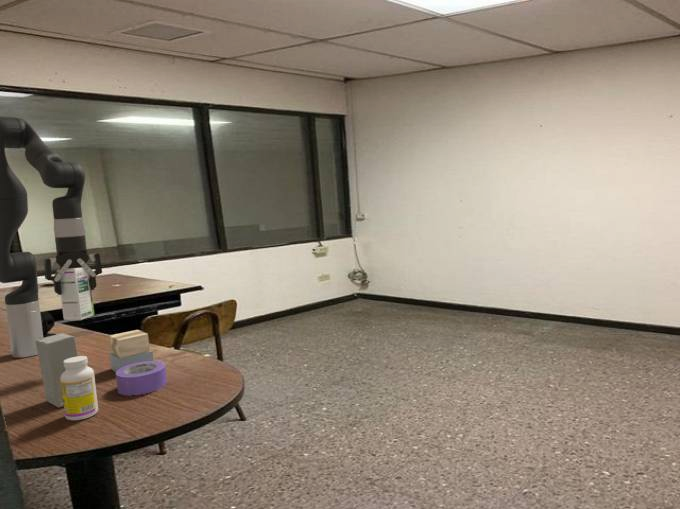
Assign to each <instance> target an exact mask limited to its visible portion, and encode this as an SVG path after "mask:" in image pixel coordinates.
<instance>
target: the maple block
mask: <svg viewBox="0 0 680 509" xmlns="http://www.w3.org/2000/svg"><path fill="white" fill-rule="evenodd" d="M109 343H110V351H111V353H113V354H114V355H116V356H118V357H119V358H124V357H128V356H132V355H136V354H141V353H145V352H149V351H150V350H151V349H150V341H149V334H148V333H147V332H144V331H142V330H139V329H135V330H130V331H125V332H120V333H115V334H110V335H109Z"/></svg>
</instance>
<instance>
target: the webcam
mask: <svg viewBox="0 0 680 509" xmlns="http://www.w3.org/2000/svg"><path fill="white" fill-rule="evenodd" d="M40 314H41V323H42V331H43V338H45V337H49V336H53V335H57V334H58V333H49V332H51V330H52V328H54V326H55V324H56V323H55V318H54V317H53V315H52V314H51V313H50V312H47V311H42V312H40Z"/></svg>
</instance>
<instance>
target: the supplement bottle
mask: <svg viewBox="0 0 680 509" xmlns="http://www.w3.org/2000/svg"><path fill="white" fill-rule="evenodd" d="M88 362H89V360H88V357H87V356H86V355H78V356H77V357H72V358H68V359H66V360H64V367H65V368H66V371H65V372H63V373H62V375H61V377H60V379H61V387H62V396H63V404H64V406H63V409H64V416H65V419H66V420H68V421H81V420H86V419H88V418H91V417H92V416H95V415H96V414H97V413H98V412H99V404H98V396H97V387H96V378H95V371H94V369H93V368H92V367H90V366H88Z"/></svg>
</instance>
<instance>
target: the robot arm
mask: <svg viewBox="0 0 680 509" xmlns="http://www.w3.org/2000/svg"><path fill="white" fill-rule="evenodd" d="M6 149H25V150H24V156H25V159H26V162H28V163H29V165H30V166H32V167H33V168H34V169H35V170H36V171H37V172H38V174H39V176H40V178H41V180H42V182H43V184H44V185H45V186H47V187H49V188H52V189H67V191H66V193H65V195H63V196H58V197H56V198H54V199H53V200H52V205H51V206H52V214H53V232H54V233H53V234H54V241H55V242H54V243H55V250H56V251H55V253H56V255H55V257H51V258H50V257H45V258H44V259H43V266H44V278H45V280H47V281H51V282H53V290H54V293H55V294H57V296H61V295H62V292H61V283H60V281H59V280H60V278H61V277H62V275H63V274H64V273H65V271H66V270H67V269H68V268H79V267H83V268H84V269H85V270H86V271H87V272H88V273H89V274H90V281H91V290H92V291H94V290H95V288H97V278H96V277H97V276H98V275H100V274H102V273H103V268H102V267H103V266H102V262H101V255H100V254H99V252H98V253H97V252H93V253H90V254H89V253H88V250H87V242H86V239H87V238H86V229H85V223H84V220H83V211H82V210H83V209H82V199H83V198H82V197H83V193H84V187H85V183H86V182H85V181H86V173H85V170H84V168H83V166H82V165H80V164H79V163H77V162H68V161H67V162H65V161H63V159H62V157H61V156H60V155H59V154H58V153H57V152H55V150H53V149H51V148H50V147H49V146H48V145H47V144H46V143H45V142H44V141H43V140H42V138H41V137H40V136H39V135H38V133H37V132H36V130H35V129H34V128H33V127H32V125H31V124H30V123H29V122H28V121H27V120H26V119H23V118H19V117H11V116H1V115H0V283H1V284H10V283H16V282H22V283H21V284H20V286H18V288H16V289H15V290H12V291H11V292H9V293H7V294H6V295H5V296H4V304H5V310H6V312H5V313H6V317H7V318H6V319H7V326H8V333H9V334H8V335H9V342H10V350H11V357H12V358H15V359H16V358H17V359H19V358H28V357H29V358H30V357H33V356H38V352H37V347H36V341H35V340H37V339H41V338H43V331H42V323H41V314H40V313H41V309H40V300H39V299H40V298H39V283H38V268H37V266H38V265H37V260H36V258H35V255H34V254H33V253H32V252H30V251H21V252H11V246H12V243H13V239H14V237H15V235H16V233H17V232H18V230H19V229H20V228H21V227H22V225H23V223H24V221H25V219H26V218H27V215H28V213H29V207H28V206H29V201H28V192H27V189H26V188H25V186H24V184H23V183H22V182H21V180H20V179H19V177H18V176H17V175H16V174H15V172H14V171H13V169H12V168H11V167H10V165H9V163H8V159H7V156H6ZM89 260H91V261H92V262H93V264H94V270H92V268H91V267H90V266H89V265H88V261H89ZM55 262H56V264H57V265H58V266H59V267H58V268H57V270H56V272H55V274H54V275H52V267H53V266H54V265H55ZM60 269H61V270H60Z"/></svg>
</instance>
